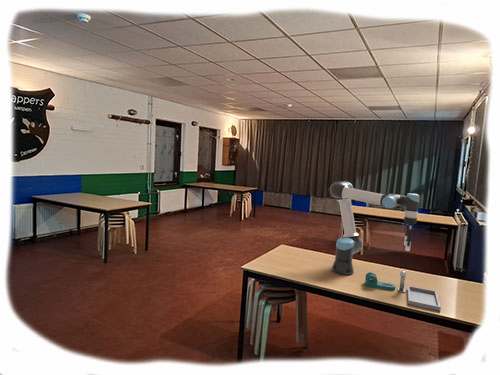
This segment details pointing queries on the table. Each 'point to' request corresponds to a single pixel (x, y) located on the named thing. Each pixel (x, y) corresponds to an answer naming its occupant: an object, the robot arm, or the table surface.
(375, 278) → the bracket
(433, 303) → the bin
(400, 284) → the ball stud
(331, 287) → the table surface
